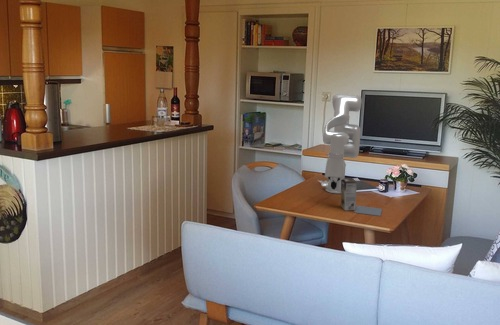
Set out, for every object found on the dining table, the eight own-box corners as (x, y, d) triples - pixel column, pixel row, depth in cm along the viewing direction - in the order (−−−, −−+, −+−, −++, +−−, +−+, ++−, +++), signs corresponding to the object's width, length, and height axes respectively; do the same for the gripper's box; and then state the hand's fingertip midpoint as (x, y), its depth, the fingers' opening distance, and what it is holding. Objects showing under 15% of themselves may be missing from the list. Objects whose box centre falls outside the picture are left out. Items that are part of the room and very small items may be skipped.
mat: (353, 212, 280) (354, 212, 280) (356, 206, 293) (356, 205, 293) (380, 216, 276) (380, 215, 276) (382, 209, 289) (382, 208, 289)
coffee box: (340, 205, 292) (340, 178, 288) (351, 205, 292) (352, 177, 289) (344, 210, 283) (345, 182, 279) (356, 210, 283) (356, 181, 280)
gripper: (321, 155, 283) (318, 188, 286) (349, 158, 279) (346, 192, 282) (323, 153, 290) (321, 185, 293) (350, 156, 286) (347, 189, 289)
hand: (333, 188), depth 288 cm, fingers closed
